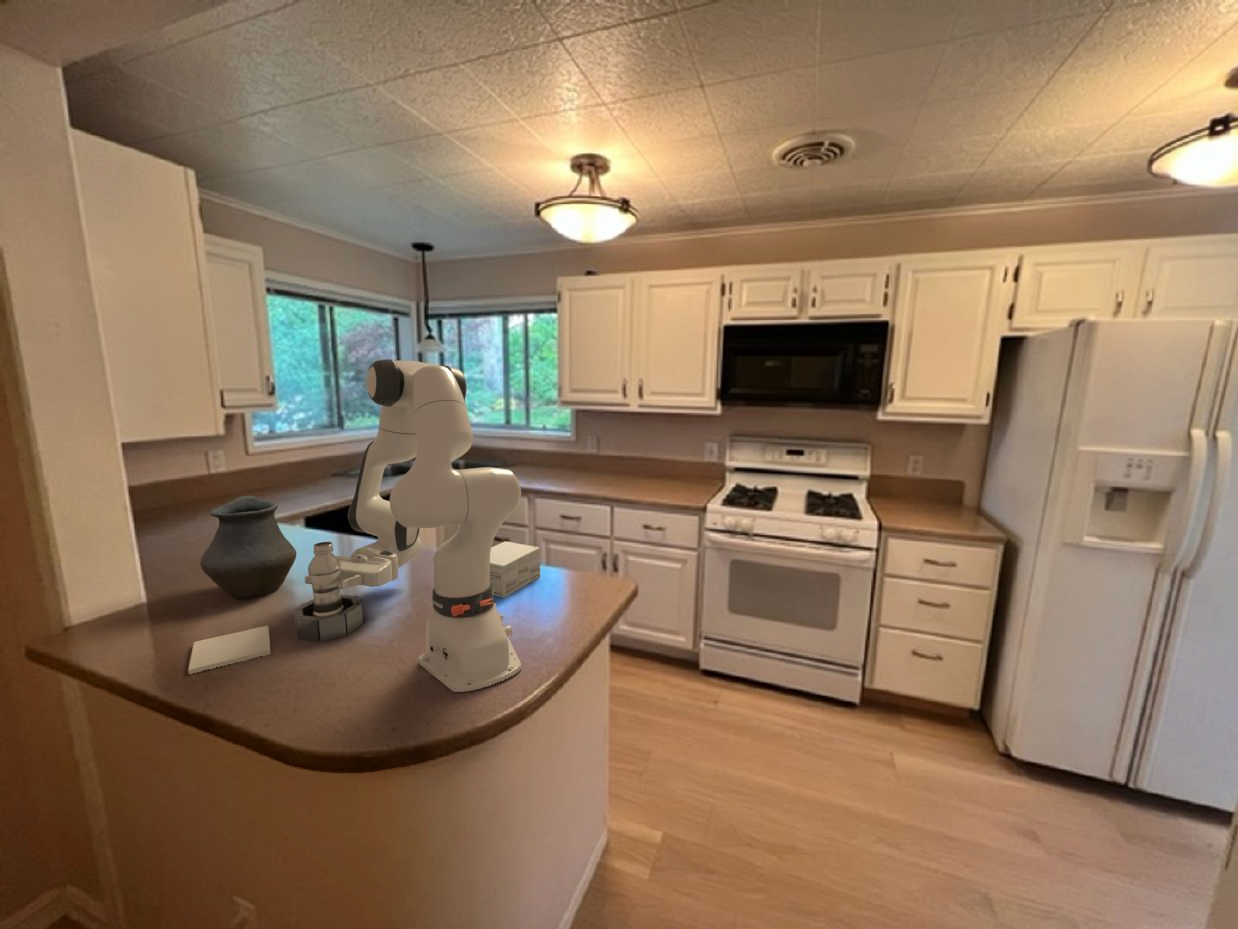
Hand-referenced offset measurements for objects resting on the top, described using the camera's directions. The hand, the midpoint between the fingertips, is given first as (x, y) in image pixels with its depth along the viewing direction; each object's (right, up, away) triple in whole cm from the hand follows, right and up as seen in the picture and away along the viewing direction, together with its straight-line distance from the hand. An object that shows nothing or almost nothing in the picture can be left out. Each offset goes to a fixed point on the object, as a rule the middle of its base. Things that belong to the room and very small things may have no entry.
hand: (323, 583), depth 114 cm
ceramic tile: (-15, -12, -8) cm, 21 cm away
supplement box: (+34, -7, +30) cm, 46 cm away
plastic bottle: (0, -11, +2) cm, 11 cm away
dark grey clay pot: (-32, -7, +22) cm, 40 cm away
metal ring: (0, -11, +2) cm, 11 cm away
